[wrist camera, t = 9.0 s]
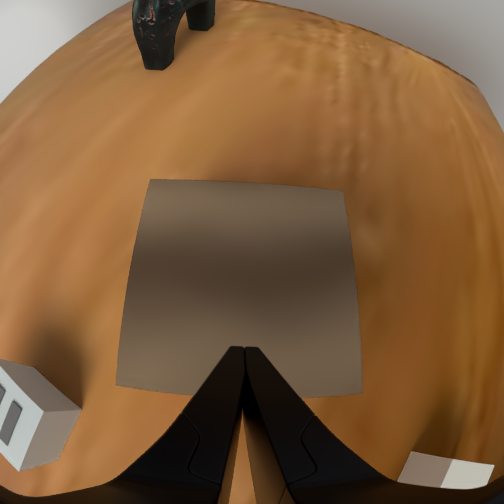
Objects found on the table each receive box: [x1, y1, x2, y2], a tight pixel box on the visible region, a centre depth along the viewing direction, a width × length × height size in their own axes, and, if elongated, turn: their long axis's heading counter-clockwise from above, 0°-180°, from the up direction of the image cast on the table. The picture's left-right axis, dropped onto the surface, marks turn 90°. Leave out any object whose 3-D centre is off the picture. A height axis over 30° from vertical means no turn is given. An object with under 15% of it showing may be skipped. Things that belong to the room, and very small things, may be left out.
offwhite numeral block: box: [397, 451, 495, 489], centre depth 12 cm, size 5×5×5 cm
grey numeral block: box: [0, 359, 82, 471], centre depth 13 cm, size 5×5×5 cm
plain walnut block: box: [116, 179, 362, 398], centre depth 16 cm, size 10×10×8 cm
